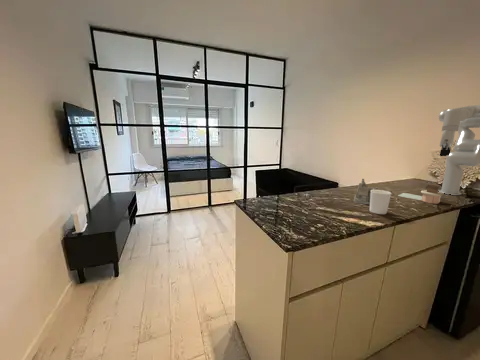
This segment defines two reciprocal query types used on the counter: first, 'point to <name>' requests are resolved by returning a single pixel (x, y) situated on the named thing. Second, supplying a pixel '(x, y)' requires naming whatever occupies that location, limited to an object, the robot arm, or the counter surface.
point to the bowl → (431, 199)
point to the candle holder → (379, 201)
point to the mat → (411, 196)
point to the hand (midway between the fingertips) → (444, 155)
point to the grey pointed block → (363, 193)
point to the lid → (432, 190)
